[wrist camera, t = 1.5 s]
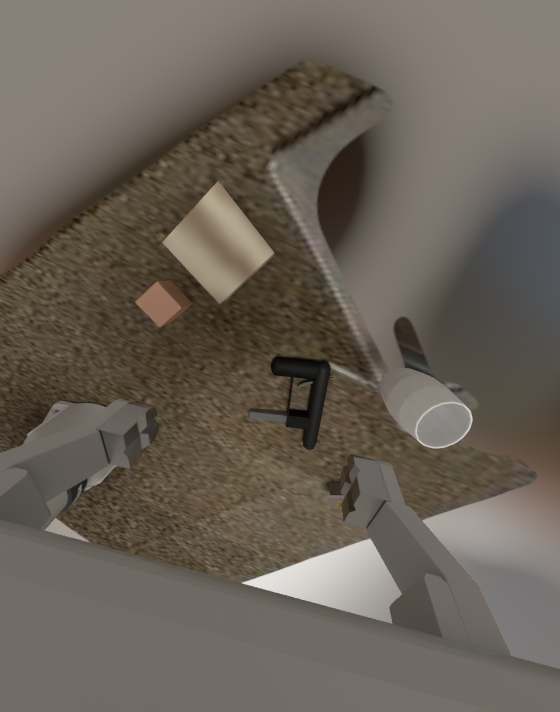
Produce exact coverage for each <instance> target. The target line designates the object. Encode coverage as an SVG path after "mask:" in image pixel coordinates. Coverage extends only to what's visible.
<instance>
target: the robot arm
mask: <svg viewBox="0 0 560 712" xmlns="http://www.w3.org/2000/svg"><path fill="white" fill-rule="evenodd" d="M156 416H157V410H156V408H154V407H150V406H146V405H143V404H139V403H135V402H131V401H127V400H123V399H118V400H115V401H114V402H112V403H111V404H110V405H109V406H107V407H104V406H101V405H98V404H93V403H77V404H76V403H71V402H67V401H58V402H56V403H55V404H54V405H53V406H52V408H51V410H50V411H49V413H48V414H47V416H46V418H45V419H44V421H43V423H42V424H40V425H39V426H38V427H36V428H35V429H33V430H32V431H31V432H29V433H28V434H27V438H26V439H25V441H24V443H23V445H21V446H18V447H16V448H13V449H10V450H7V451H4V452H1V453H0V712H560V669H558V668H554V667H550V666H547V665H543V664H539V663H535V662H532V661H528V660H524V659H520V658H517V657H513V656H511V654H510V652H509V650H508V648H507V646H506V643H505V641H504V639H503V637H502V635H501V633H500V631H499V628H498V626H497V624H496V622H495V620H494V618H493V616H492V614H491V612H490V610H489V607H488V605H487V603H486V601H485V599H484V597H483V595H482V593H481V591H480V588H479V586H478V585H477V583H476V582H475V581H474V580H473V579H472V578H471V577H470V575H469V574H468V573H467V572H466V571H465V570H464V569H463V568H462V566H461V565H460V564H459V563H458V562H457V561H456V559H455V558H454V557H453V556H452V555H451V554H450V552H449V551H448V550H447V549H446V548H445V547H444V546H443V544H442V543H441V542H440V541H439V540H438V539H437V537H436V536H435V535H434V534H433V533H432V532H431V531H430V529H429V528H428V527H427V526H426V525H425V524H424V523H423V521H422V520H421V519H420V518H419V517H418V516H417V515H416V513H415V512H414V511H413V510H412V509H411V508H410V507H408V506H406V505H405V502H404V499H403V497H402V494H401V491H400V488H399V485H398V482H397V479H396V477H395V474H394V471H393V468H392V465H391V464H390V463H387V462H383V461H379V460H375V459H371V458H366V457H362V456H357V455H353V454H351V455H350V456H349V457H348V459H347V464H348V465H347V466H345V467H343V470H342V472H341V477H340V492H341V494H342V495H343V496H344V500H343V502H342V512H343V521H344V523H347V524H351V525H354V526H358V527H362V528H365V529H367V530H366V531H367V533H368V534H369V536H370V538H371V540H372V541H373V543H374V545H375V547H376V549H377V550H378V552H379V554H380V556H381V557H382V559H383V561H384V563H385V565H386V566H387V568H388V570H389V572H390V573H391V575H392V577H393V579H394V581H395V582H396V584H397V586H398V588H399V589H400V591H401V593H402V595H401V596H400V597H399V598H398V599H396V600H395V601H394V602H393V603H392V604H391V606H390V613H391V618H392V623H393V624H391V623H387V622H383V621H379V620H376V619H372V618H368V617H364V616H361V615H357V614H353V613H350V612H346V611H342V610H338V609H335V608H331V607H327V606H323V605H320V604H316V603H312V602H308V601H305V600H301V599H297V598H294V597H290V596H286V595H283V594H279V593H275V592H271V591H267V590H264V589H260V588H257V587H253V586H249V585H245V584H242V583H238V582H234V581H230V580H227V579H223V578H219V577H216V576H212V575H208V574H204V573H201V572H197V571H193V570H190V569H186V568H182V567H178V566H175V565H171V564H167V563H163V562H160V561H156V560H152V559H149V558H145V557H141V556H137V555H134V554H130V553H126V552H122V551H119V550H115V549H111V548H108V547H104V546H100V545H96V544H93V543H89V542H85V541H81V540H78V539H74V538H70V537H66V536H63V535H59V534H55V533H52V532H48V531H44V530H45V529H46V528H47V527H48V526H49V525H50V523H51V522H52V521H53V520H54V519H55V518H56V516H57V515H58V514H59V513H60V512H62V511H64V510H66V509H67V508H68V507H69V506H70V505H71V504H72V503H73V502H74V501H75V500H76V499H77V498H78V497H79V495H80V494H81V493H82V491H83V490H85V491H86V490H88V489H89V488H91V487H92V486H96V485H97V484H99V483H100V482H102V481H103V479H104V478H105V477H106V476H107V475H108V474H109V473H110V472H111V471H112V469H113V468H115V467H117V466H120V467H125V468H129V469H131V467H132V466H133V465H134V464H135V463H136V461H137V460H138V459H139V458H140V457H141V455H142V449H143V448H145V447H147V446H149V445H150V444H151V443H152V442H153V440H154V439H155V437H156V435H157V433H158V428H159V426H158V422H157V420H156V419H155V417H156Z"/></svg>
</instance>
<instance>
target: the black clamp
mask: <svg viewBox="0 0 560 712" xmlns="http://www.w3.org/2000/svg"><path fill="white" fill-rule="evenodd" d="M271 370H272V373H273V374H274V375H277V376H286V377H292V379H291V387H290V394H289V402H288V409H287V411H276V410H262V409H250V411H249V418H250V419H259V420H268V421H277V422H286V427H292V428H301V429H305V430H304V436H303V446H304V447H305V448H306V449H309V450H311V449H313V448H314V446H315V444H316V442H317V437H318V432H319V427H320V421H321V416H322V411H323V406H324V401H325V396H326V391H327V386H328V381H329V378H334V377H329V375H330V370H331V368H330V365H329V364H328V363H327V362H325V361H320V362H318V361H309V360H300V359H290V358H281V357H276V358H275V359H274V360H273V361H272V364H271ZM294 377H295V378H304V379H313V381H307V382H304V383H301V384H299V385H298V386H299V388H301V387H303V386H305V385H308V384H312V388H311V394H310V400H309V406H308V411H306V410H293V409H289V407H290V400H291V392H292V385H293V378H294ZM319 442H320V441H319Z"/></svg>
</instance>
